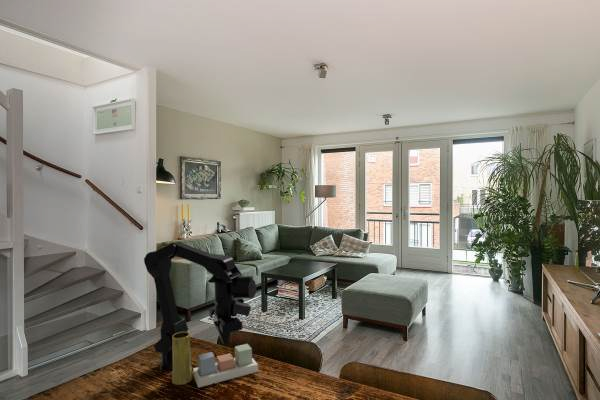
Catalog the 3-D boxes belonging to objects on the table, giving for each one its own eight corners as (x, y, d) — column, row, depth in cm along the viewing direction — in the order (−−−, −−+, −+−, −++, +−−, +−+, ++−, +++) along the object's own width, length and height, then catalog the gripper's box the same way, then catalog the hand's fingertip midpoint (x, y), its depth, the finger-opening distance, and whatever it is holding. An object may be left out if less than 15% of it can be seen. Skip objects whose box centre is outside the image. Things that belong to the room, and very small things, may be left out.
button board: (193, 375, 112) (193, 368, 112) (249, 361, 120) (249, 354, 120) (198, 387, 105) (198, 379, 105) (258, 371, 113) (257, 364, 113)
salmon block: (217, 371, 113) (216, 356, 113) (230, 368, 116) (230, 353, 115) (220, 377, 110) (220, 361, 110) (234, 374, 112) (234, 358, 112)
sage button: (235, 361, 116) (234, 346, 116) (247, 358, 118) (247, 343, 118) (239, 367, 112) (238, 351, 112) (252, 363, 114) (251, 348, 114)
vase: (186, 386, 106) (184, 339, 105) (167, 384, 107) (166, 338, 107) (196, 376, 112) (194, 331, 111) (178, 374, 113) (177, 330, 113)
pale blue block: (198, 370, 111) (197, 355, 111) (212, 367, 113) (211, 351, 113) (201, 376, 107) (200, 360, 107) (215, 373, 109) (215, 357, 109)
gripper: (258, 299, 108) (259, 349, 108) (239, 286, 124) (240, 329, 124) (222, 305, 102) (223, 358, 103) (207, 291, 119) (209, 336, 119)
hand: (225, 344), depth 112 cm, fingers closed
